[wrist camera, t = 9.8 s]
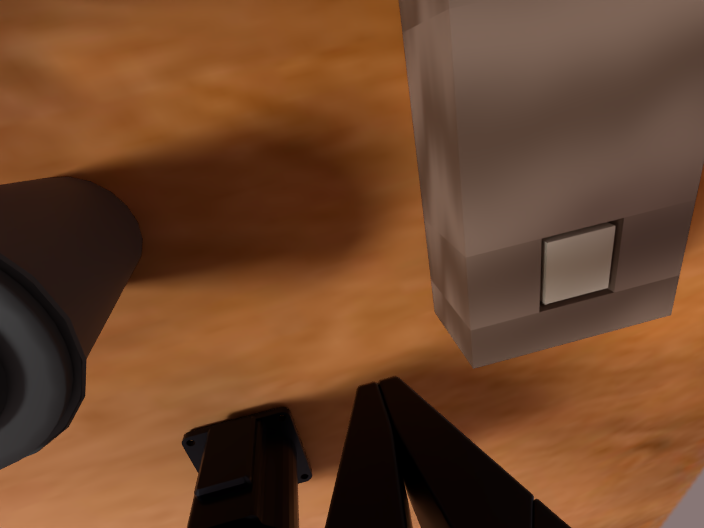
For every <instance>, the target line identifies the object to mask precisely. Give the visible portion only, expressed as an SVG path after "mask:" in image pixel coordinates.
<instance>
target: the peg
mask: <svg viewBox="0 0 704 528" xmlns="http://www.w3.org/2000/svg"><path fill="white" fill-rule="evenodd" d="M614 235H615V225H612V224H610V223H607V222H605V223H601V224H597V225H593V226H589V227H585V228H581V229H577V230H573V231H569V232H565V233H561V234H557V235H554V236H550V237H546V238H542V240H541V273H540V301H541V302H543V303H544V304H549V303H553V302H556V301H560V300H564V299H568V298H572V297H575V296H579V295H583V294H587V293H590V292H594V291H598V290H602V289H606V288H608V284H609V275H610V267H611V259H612V251H613V243H614Z"/></svg>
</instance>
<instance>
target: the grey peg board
mask: <svg viewBox="0 0 704 528" xmlns="http://www.w3.org/2000/svg"><path fill="white" fill-rule="evenodd" d="M399 6H400V15H401V23H402V32H403V41H404V49H405V58H406V67H407V76H408V84H409V93H410V102H411V110H412V119H413V128H414V136H415V145H416V154H417V162H418V171H419V180H420V188H421V197H422V206H423V214H424V223H425V232H426V240H427V249H428V258H429V266H430V275H431V284H432V292H433V301H434V310H435V313H436V315H437V316H438V318H439V319H440V321H441V322H442V324H443V325H444V326H445V328H446V329H447V331H448V332H449V334H450V335H451V337H452V338H453V340H454V341H455V343H456V344H457V346H458V347H459V348H460V350H461V351H462V353H463V354H464V356H465V357H466V359H467V360H468V362H469V363H470V365H471V366H472V368H473V369H474V368H478V367H482V366H485V365H489V364H493V363H496V362H500V361H504V360H507V359H511V358H515V357H518V356H522V355H526V354H529V353H533V352H537V351H540V350H544V349H548V348H551V347H555V346H559V345H563V344H566V343H570V342H574V341H577V340H581V339H585V338H588V337H592V336H596V335H599V334H603V333H607V332H610V331H614V330H618V329H621V328H625V327H629V326H632V325H636V324H640V323H643V322H647V321H651V320H654V319H658V318H662V317H666V316H669V315H671V312H672V308H673V303H674V298H675V294H676V289H677V285H678V280H679V275H680V271H681V266H682V261H683V257H684V252H685V247H686V243H687V238H688V233H689V229H690V224H691V219H692V215H693V210H694V206H695V201H696V196H697V192H698V187H699V182H700V178H701V173H702V168H703V164H704V0H399ZM605 222H607V223H610V224H612V225H615V235H614V243H613V251H612V259H611V267H610V275H609V284H608V288H606V289H602V290H598V291H594V292H590V293H587V294H583V295H579V296H575V297H572V298H568V299H564V300H560V301H556V302H553V303H549V304H544V303H543V302H541V301H540V273H541V240H542V238H546V237H550V236H554V235H557V234H561V233H565V232H569V231H573V230H577V229H581V228H585V227H589V226H593V225H597V224H601V223H605Z"/></svg>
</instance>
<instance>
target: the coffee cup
mask: <svg viewBox="0 0 704 528" xmlns="http://www.w3.org/2000/svg"><path fill="white" fill-rule="evenodd" d="M142 240H143V239H142V236H141V232H140V229H139V225H138V222H137V220H136V219H135V217H134V216H133V214H132V213H131V211H130V210H129V208H128V207H127V206H126V205H125V204H124V203H123V202H122V201H121V200H120V199H118V198H117V197H116V196H115V195H114V194H113V193H112V192H110V191H108V190H106V189H104V188H102V187H100V186H98V185H96V184H94V183H92V182H90V181H86V180H81V179H77V178H72V177H54V178H43V179H36V180H30V181H23V182H16V183H10V184H3V185H0V469H2V468H5V467H7V466H9V465H11V464H13V463H15V462H17V461H19V460H21V459H22V458H24V457H27V456H29V455H32V454H34V453H36V452H38V451H40V450H41V449H42V448H43V447H45V446H46V445H47V444H48V443H50V442H51V441H52V440H53V439H54V438H56V437H57V436H58V435H59V434H61V433H62V432H63V431H64V430H66V429H67V428H68V427H69V425H70V423H71V422H72V420H73V418H74V416H75V414H76V412H77V410H78V408H79V407H80V405H81V403H82V401H83V399H84V397H85V386H86V359H87V357H88V355H89V353H90V351H91V349H92V347H93V346H94V344H95V342H96V340H97V338H98V336H99V334H100V332H101V331H102V329H103V327H104V325H105V323H106V321H107V319H108V317H109V316H110V314H111V312H112V310H113V308H114V306H115V304H116V302H117V301H118V299H119V297H120V295H121V293H122V291H123V289H124V287H125V285H126V284H127V282H128V280H129V278H130V276H131V274H132V272H133V270H134V269H135V267H136V265H137V263H138V261H139V259H140V257H141V252H142Z"/></svg>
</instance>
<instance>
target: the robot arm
mask: <svg viewBox="0 0 704 528" xmlns="http://www.w3.org/2000/svg"><path fill="white" fill-rule="evenodd" d="M280 415H284V416H280ZM191 440H193V441H191ZM182 446H183V447H184V449H185V451H186V453H187V454H188V456H189V458H190V460H191V461H192V463H193V465H194V467H195V468H196V470H197V472H198V478H197V482H196V487H195V491H194V499H193V503H192V508H191V512H190V517H189V521H188V525H187V528H299V510H298V484H299V483H302V482H306V481H308V480H310V479H311V477H312V470H311V466H310V464H309V461H308V458H307V456H306V453H305V450H304V447H303V445H302V442H301V439H300V437H299V434H298V431H297V428H296V426H295V423H294V420H293V418H292V415H291V412H290V410H289V409H288V408H286V407H279V408H276V409H272V410H268V411H265V412H261V413H257V414H253V415H250V416H246V417H242V418H239V419H235V420H231V421H227V422H224V423H220V424H216V425H213V426H209V427H205V428H201V429H198V430H194V431H190V432H188V433H186V434H185V435H184V437H183V441H182ZM405 487H406V489H405ZM406 490H407V493H408V496H409V499H410V501H411V504H412V507H413V509H414V512H415V514H416V516H417V519H418V521H419V524H420V526H421V528H571V527H570V526H569V525H567V524H566V523H565V522H564V521H563V520H561V519H560V518H559V517H558V516H557V515H556V514H555V513H553V512H552V511H551V510H550V509H549V508H548V507H547V506H545V505H544V504H543V503H542V502H541V501H540V500H538V499H535V500H534V496H533V495H532V494H531V493H530V492H529V491H528V490H527V489H526V488H525V487H523V486H522V485H521V484H520V483H519V482H518V481H517V480H515V479H514V478H513V477H512V476H511V475H510V474H509V473H507V472H506V471H505V470H504V469H503V468H502V467H501V466H499V465H498V464H497V463H496V462H495V461H494V460H493V459H491V458H490V457H489V456H488V455H487V454H486V453H485V452H483V451H482V450H481V449H480V448H479V447H478V446H477V445H475V444H474V443H473V442H472V441H471V440H470V439H469V438H467V437H466V436H465V435H464V434H463V433H462V432H461V431H459V430H458V429H457V428H456V427H455V426H454V425H453V424H451V423H450V422H449V421H448V420H447V419H446V418H445V417H443V416H442V415H441V414H440V413H439V412H438V411H437V410H435V409H434V408H433V407H432V406H431V405H430V404H429V403H427V402H426V401H425V400H424V399H423V398H422V397H421V396H419V395H418V394H417V393H416V392H415V391H414V390H413V389H411V388H410V387H409V386H408V385H407V384H406V383H405V382H403V381H402V380H401V379H400V378H399V377H397V376H393V377H390V378H386V379H382V380H380V381H379V382H378V383H377V382H371V383H367V384H364V385H360V386H359V387H358V388H357V391H356V396H355V400H354V404H353V409H352V413H351V417H350V421H349V426H348V430H347V434H346V439H345V443H344V447H343V452H342V456H341V460H340V465H339V469H338V473H337V478H336V482H335V486H334V491H333V495H332V499H331V504H330V508H329V512H328V517H327V521H326V525H325V528H413V526H412V521H411V515H410V509H409V503H408V498H407V493H406Z"/></svg>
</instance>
